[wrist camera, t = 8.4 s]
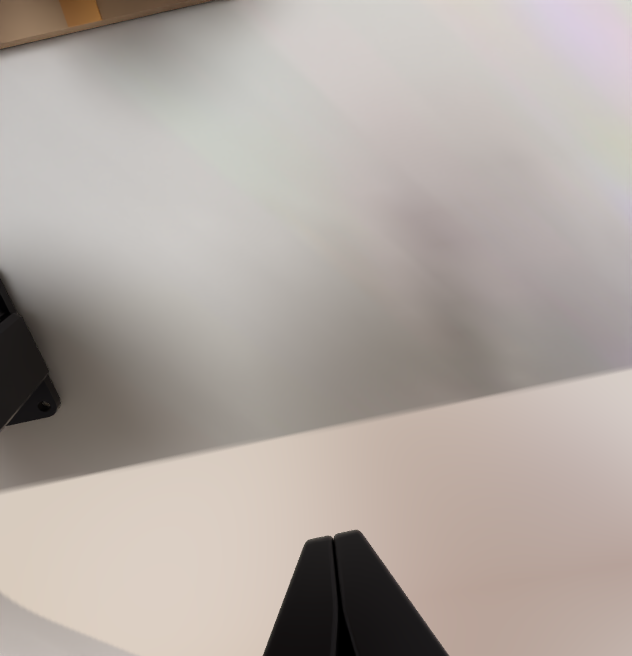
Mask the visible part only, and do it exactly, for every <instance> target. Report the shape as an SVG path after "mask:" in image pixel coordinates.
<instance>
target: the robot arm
mask: <svg viewBox="0 0 632 656" xmlns="http://www.w3.org/2000/svg"><path fill="white" fill-rule="evenodd" d="M48 372H49V370H48V368H47V366H46V364H45V362H44V360H43V358H42V356H41V354H40V352H39V350H38V348H37V346H36V344H35V342H34V340H33V338H32V336H31V334H30V332H29V330H28V328H27V326H26V324H25V322H24V320H23V318H22V317H21V316H20V315H18V314H17V312H16V310H15V308H14V306H13V304H12V302H11V300H10V298H9V295H8V293H7V291H6V289H5V287H4V285H3V283H2V281H1V279H0V432H1V431H2V430H3V429H4V428H5V426H9V425H13V424H18V423H22V422H27V421H32V420H36V419H41V418H46V417H50V416H52V415H54V414H55V413H56V412H57V410H58V409H59V407H60V405H61V401H60V398H59V396H58V394H57V392H56V390H55V388H54V386H53V384H52V382H51V380H50V378H49V376H48ZM42 401H45V402H47V403H49V404H50V406H45V405H44V404H43V403H42ZM263 656H449V655H448V654H447V652H446V651H445V650H444V648H443V647H442V645H441V644H440V642H439V641H438V640H437V638H436V637H435V635H434V634H433V633H432V631H431V630H430V628H429V627H428V626H427V624H426V623H425V621H424V620H423V618H422V617H421V616H420V614H419V613H418V611H417V610H416V609H415V607H414V606H413V604H412V603H411V601H410V600H409V599H408V597H407V596H406V594H405V593H404V592H403V590H402V589H401V587H400V586H399V585H398V583H397V582H396V580H395V579H394V578H393V576H392V575H391V574H390V572H389V571H388V569H387V568H386V566H385V565H384V563H383V562H382V561H381V559H380V558H379V556H378V555H377V554H376V552H375V551H374V550H373V548H372V547H371V545H370V544H369V542H368V541H367V540H366V538H365V537H364V536H363V534H362V533H361V532H360V531H358V530H352V531H347V532H343V533H338V534H336V535H335V536H334V540H333V538H332V537H331V536H324V537H319V538H314V539H310V540H308V541H307V542H306V543H305V545H304V547H303V550H302V552H301V555H300V558H299V560H298V563H297V566H296V568H295V571H294V574H293V577H292V579H291V582H290V585H289V587H288V590H287V592H286V595H285V598H284V600H283V603H282V606H281V608H280V611H279V614H278V617H277V619H276V622H275V624H274V627H273V630H272V632H271V635H270V638H269V640H268V643H267V646H266V648H265V652H264V654H263Z"/></svg>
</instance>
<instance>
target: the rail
mask: <svg viewBox="0 0 632 656" xmlns="http://www.w3.org/2000/svg"><path fill="white" fill-rule="evenodd" d="M209 1H213V0H0V49H3V48H7V47H12V46H16V45H21V44H25V43H29V42H34V41H38V40H42V39H47V38H51V37H56V36H60V35H64V34H69V33H73V32H78V31H82V30H86V29H91V28H95V27H99V26H104V25H108V24H113V23H117V22H121V21H126V20H130V19H134V18H139V17H143V16H148V15H152V14H156V13H161V12H165V11H169V10H174V9H178V8H183V7H187V6H191V5H196V4H200V3H205V2H209Z"/></svg>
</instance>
